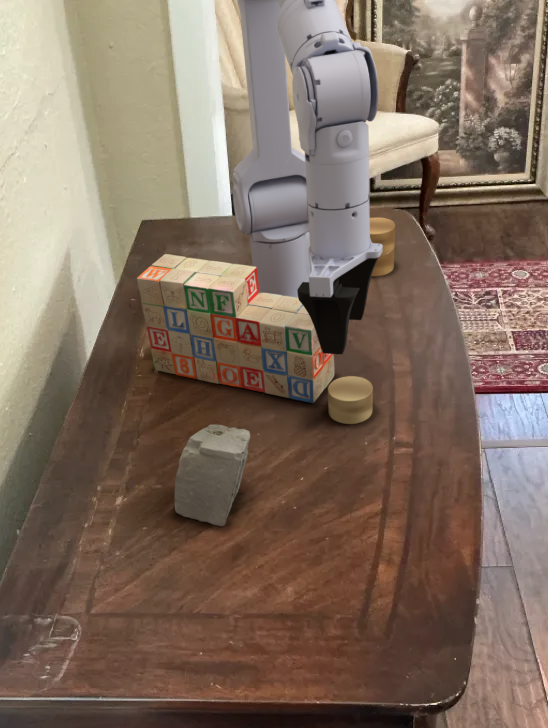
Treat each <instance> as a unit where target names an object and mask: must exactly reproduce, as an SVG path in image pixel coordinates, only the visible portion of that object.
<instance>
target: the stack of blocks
mask: <svg viewBox="0 0 548 728" xmlns="http://www.w3.org/2000/svg"><path fill="white" fill-rule="evenodd" d="M136 282H137V286H138V291H139V297H140V300H141V303H140V304H141V307H142V313H143V319H144V323H145V326H146V331H147V336H148V341H149V344H150V353H151V357H152V358H151V359H152V362H153V366H154V370H155V371H157V372H162V373H163V372H164V373H166V374H171V375H175V376H180V377H185V378H189V379H193V380H199V381H202V382H207V383H212V384H219V385H220V384H221V385H224V386H225V385H226V386H230V387H235V388H240V389H246V390H250V391H256V392H260V393H265V394H268V395H272V396H276V397H282V398H286V399H291V400H295V401H299V402H300V401H301V402H305V403H310V404H314V403H315V402H316V401H317V399H318V398H319V397H320V395H321V394H322V393H323V391H324V390H326V388H328V386H329V385H330V383H331V382H332V380H333V378H334V377H335V354H326V353H323V352H322V349H321V346H320V343H319V340H318V337H317V334H316V331H315V328H314V325H313V322H312V320H311V318H310V316H309V314H308V312H307V310H306V309H305V307H304V306H303V305H302V303H301V302H300V301H299V299H298V298H296V297H289V296H282V295H277V294H270V293H259V283H258V273H257V267H253V266H252V265H247V264H246V265H245V264H239V263H230V262H225V261H217V260H207V259H201V258H194V257H186V256H183V255H176V254H175V255H174V254H169V253H165V254H163V255H162V256H161V257H159V258H158V259H157V260H156V261H155V262H153V263H152V264H151V265H150V266H148V267H147V268H146V269H145V270H144V271H143V272H142V273H141V274H140V275H138V276H137V277H136Z"/></svg>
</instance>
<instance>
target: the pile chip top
mask: <svg viewBox="0 0 548 728" xmlns="http://www.w3.org/2000/svg"><path fill="white" fill-rule="evenodd" d="M370 239H371V242H372V243H378V244H382V246H383V252H382V253H381V255H382V254H386V253H388V252H390V251H392V250H393V249H394V250H395V241H396V224H395V222H394V220H391V219H389V218H385V217H377V216H376V217H370Z"/></svg>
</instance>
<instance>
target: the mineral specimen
mask: <svg viewBox="0 0 548 728" xmlns="http://www.w3.org/2000/svg"><path fill="white" fill-rule="evenodd" d="M250 440H251V431H249V430H247V429H246V428H240V429H239V428H237V427H235V426H233V427H228V426H226V425H223V424H209V425H208V426H207V427H204V428H202V429H201V430H199V431H197V432H196V433H193V434H192V435H191V436H190V437H189V438H188V440H187V443H186V446H185V447H184V448H183V449H182V451H181V452H182V453H181V456H180V457H179V461H178V468H177V471H176V476H175V481H174V495H173V496H174V511H175V513H176V514H178V515H179V516H182V517H184V518H189V519H191V520H197V521H199V522H204V523H209V524H211V525H213V526H217V527H218V526H219V527H224V526H225V525H226V523H227V518H228V516H229V513H230V511H231V509H232V505H233V502H235V498H236V497H237V495H238V492H239V490H240V486H241V482H242V477H243V474H244V470H245V467H246V463H247V458H248V455H249V450H248V448H249V442H250Z"/></svg>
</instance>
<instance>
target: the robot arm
mask: <svg viewBox="0 0 548 728" xmlns="http://www.w3.org/2000/svg"><path fill="white" fill-rule="evenodd" d="M236 3H237V6H238V9H239V16H240V25H241V36H242V37H241V39H242V47H243V56H244V57H243V59H244V69H245V80H246V90H247V100H248V101H247V102H248V110H249V121H250V122H249V123H250V133H251V143H252V149H251V150H250V151H249V152H248V154H247V155H246V156H245V157H244V158H243V159H242V160H241V161H240V162H239V163H238V164H236V166H235V167H234V168H233V173H232V183H233V184H232V185H233V188H232V202H233V210H234V215H235V220H236V224H237V228H238V229H239V231H240V232H241V233H242V234H243V235H244V236H248V237H249V247H250V258H251V266H253V267H257V273H258V283H259V293H270V294H277V295H282V296H289V297H296V298H298V299H299V301H300V302H301V303H302V305H303V306H304V307H305V309H306V310H307V312H308V314H309V316H310V318H311V320H312V322H313V325H314V328H315V331H316V334H317V337H318V340H319V343H320V346H321V349H322V352H323V353H326V354H334V355H339V356H340V355H343V354H344V353H345V349H346V346H347V340H348V332H349V331H348V330H349V323H350V320H351V321H362V320H363V317H364V315H365V310H366V307H367V299H368V294H369V288H370V283H371V279H372V277H373V276H372V273H373V270H374V267H375V264H376V262H377V260H378V257H380V255H381V253H382V252H383V246H382V244H378V243H372V242H371V239H370V218H371V215H370V207H371V206H370V205H371V204H370V140H369V135H370V134H369V124H367V122H373V121H374V120H375V118H376V116H377V114H378V113H377V112H378V108H379V95H380V94H379V92H380V91H379V78H378V71H377V66H376V63H375V60H374V57H373V53H372V51H371V49H370V47H368V46H366V45H364V46H362V44H361V42H360V41H352V38H351V35H350V33H349V31H348V30H349V29H348V28H347V26H346V23H345V21H344V18H343V15H342V13H341V10H340V8H339V5H338V3H337V1H336V0H236ZM287 63H288V67H289V70H290V73H291V75H292V84H291V85H292V101H293V108H294V113H295V117H296V121H297V128H298V140H299V145H300V146H299V147H300V149H301V151H303V152H304V153H303V152H301V151H299V150H298V149H296V148H294V147H293V146H292V131H291V117H290V116H291V115H290V103H289V101H290V100H289V88H288V73H287V72H288V71H287Z"/></svg>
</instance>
